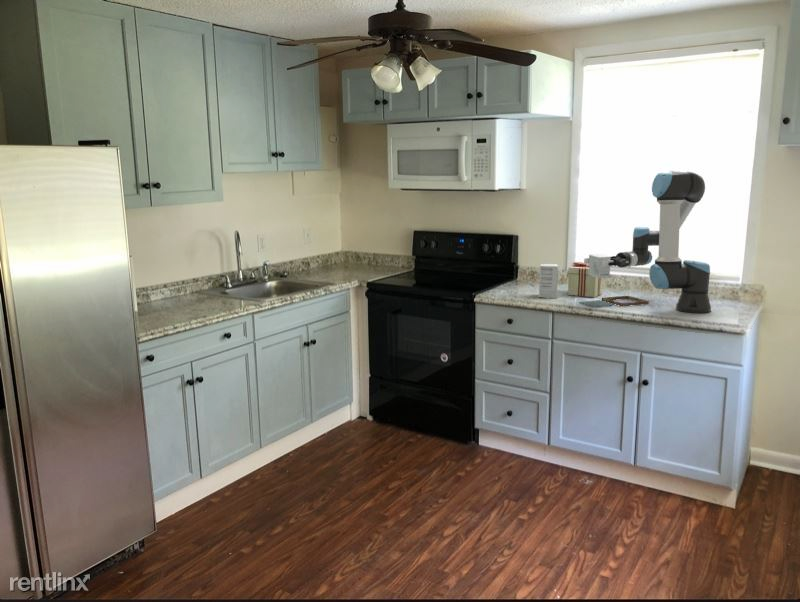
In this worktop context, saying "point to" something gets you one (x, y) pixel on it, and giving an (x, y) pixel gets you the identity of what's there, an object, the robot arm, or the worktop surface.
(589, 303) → the rubber mat
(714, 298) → the worktop surface
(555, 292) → the supplement box
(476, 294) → the worktop surface
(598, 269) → the skincare box
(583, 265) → the gift box
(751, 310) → the worktop surface
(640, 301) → the walnut collar
